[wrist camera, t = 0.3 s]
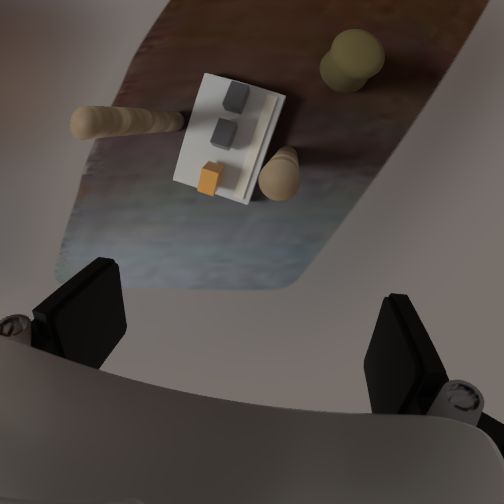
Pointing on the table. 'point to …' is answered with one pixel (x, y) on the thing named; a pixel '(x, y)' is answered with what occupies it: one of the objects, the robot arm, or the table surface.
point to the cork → (352, 60)
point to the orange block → (210, 178)
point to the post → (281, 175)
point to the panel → (243, 146)
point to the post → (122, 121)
